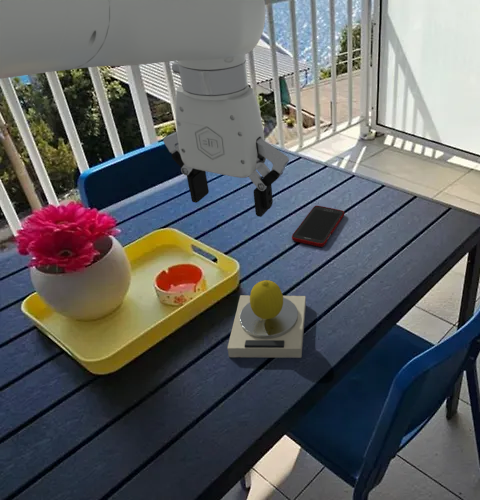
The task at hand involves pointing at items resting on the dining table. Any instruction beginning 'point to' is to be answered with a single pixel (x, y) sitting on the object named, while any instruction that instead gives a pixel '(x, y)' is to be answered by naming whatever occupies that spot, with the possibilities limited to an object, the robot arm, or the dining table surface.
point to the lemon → (266, 299)
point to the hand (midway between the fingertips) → (231, 204)
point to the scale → (268, 330)
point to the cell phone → (318, 226)
